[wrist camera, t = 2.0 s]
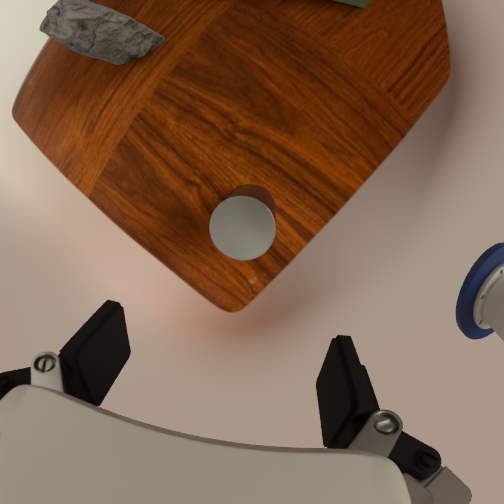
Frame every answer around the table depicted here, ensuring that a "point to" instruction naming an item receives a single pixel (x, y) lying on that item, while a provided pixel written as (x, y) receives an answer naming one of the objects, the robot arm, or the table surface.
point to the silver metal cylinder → (244, 223)
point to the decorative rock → (99, 31)
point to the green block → (355, 2)
